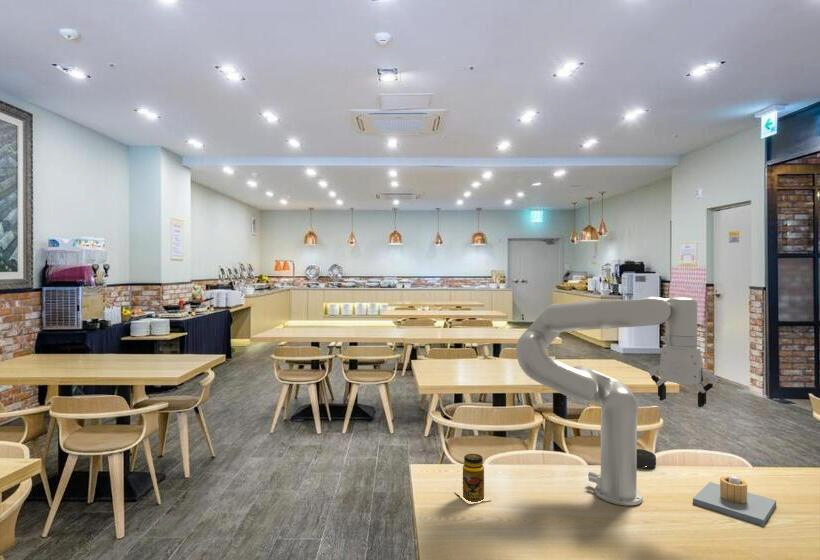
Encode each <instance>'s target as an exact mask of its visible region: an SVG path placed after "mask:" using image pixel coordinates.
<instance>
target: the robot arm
mask: <svg viewBox="0 0 820 560" xmlns="http://www.w3.org/2000/svg"><path fill="white" fill-rule="evenodd" d="M664 323H665V335H661V336H660V341H663V342H664V343H665V344H663V345H662V347H661V353H660V357H659V358H660V360H659V361H660V362H659V364H658V365H656V366H653V367H650V368H648V369H647V371H648V373H649V376H650V378H651V379H652V381H653V382H654V383H655V384H656V386H657V397H659V401H664V400H666V399H667V386H666V384H665V383H675V384H681V385H689V386H695V387H696V389H698V393H697V407H698V408H703V407H705V405H706V404H707V392H708V391H710V390H711V389H712V388H713V387H715V385H716V383H717V382H718V381H719V377H717V376H716V375H714V374H712V373H711V372H709V371H707V370H706V369H704V364H703V363H704V362H703V357H702V352H701V347H698V302H697V300H696V299H695V298H692V297H691V298H690V297H670V298H664V297H658V296H650V295H649V296H644V297H642V298H638V299H635V298H634V299H627V300H626V299H624V300H606V299H596V300H587V301H586V300H585V301H584V300H583V301H575V302H566V303H552V304H549V305H548V306H546V307H545V308H544V310H543V311H542V312H541V314H539V316H538V317H537V318H536V319H535V320H534V321H533V322H532V324H531V325H530V326H528V328H527V329H526V330H525V331H524V332H523V333H522V335H521V336H520V337H519V339H518V340H517V342H516V358H517V362H518V364H519V367H520V368H521V370H522V372H523V373H524V374H526V376H528V377H529V379H531V380H533V381H535V382H536V383H538V384H541V385H543V386H545V387H547V388H550V389H552V390H553V391H555V392H557V393H559V394H562V395H563V396H566V397H568V398H569V399H572V400H574V401H576V402H579V403H585V404H586V403H589V402H590V403H594V404H596V405H598V406H600V413H601V415H600V474H599V473H596V472H593V471H589V472H588V475H587V477H588V481H589V482H592V483H595V484H596V486H595V488H594V494H595V495H596V496H597V498H600V499H601V500H603V501H605V502H608V503H611V504H614V505H619V506H628V507H629V506H637V505H640V504H641V503H643V500H644V497H643V493H641V491H640V490H638V489H637V487H638V486H637V481H638V480H637V478H638V477H637V475H638V474H637V472H638V471H637V468H638V467H637V449H638V447H637V445H638V444H637V441H638V440H637V438H638V437H637V436H638V435H637V434H638V431H637V430H638V418H639V405H638V402H637V399H636V396H635V395H634V394H633V392H632V391H631V389H630V388H629V387H628V386H627V385H626V384H625V383H624V382H622V381H620V380H617V379H615V378H614V377H611V376H608V375H606V374H603V373H601V372H599V371H596V370H594V369H593V368H590V367H587V366H582V365H576V366H570V365H567V364H565V363H563V362H561V361H559V360H556V359H553V358H551V357H550V356H548V355H547V353H546V349H547V348H548V346H550V344H552V342H554V340H555V339H556V338H557V337H558V336H559V335H560V333H567V332H575V331H576V332H577V331H578V332H579V331H591V330H604V329H605V330H607V329H608V330H609V329H610V330H611V329H615V328H616V329H617V328H618V329H619V328H636V327H637V328H638V327H647V326H648V327H649V326H658V325H661V324H664ZM657 371H658V372H659V373H658V375H659V376H658V375H657ZM704 378H707V379H709V382H708V383H707V384H705V383H704Z"/></svg>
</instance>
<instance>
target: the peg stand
mask: <svg viewBox="0 0 820 560" xmlns="http://www.w3.org/2000/svg"><path fill="white" fill-rule="evenodd" d="M728 477H729V483H733V484H740V479H741V478H740V477H738V476H735V475H729V476H728ZM692 504H693V505H695V506H699V507H703V508H706V509H709V510H712V511H715V512H718V513H721V514H725V515H727V516H731V517H734V518H737V519H741V520H743V521H747V522H750V523H753V524H757V525H759V526H763V527H764V526H765V525H766V524H767V521H768V520H769V519H770V517H771V515H772V514H773V512H774V510H775V508H776V507H777V500H776V499H773V498H769V497H765V496H761V495H759V494H755V493H751V492H748V491H747V503H746V504H734V503H731V502H728V501H725V500H724V499H722V498H721V497H720V483H714V482H712V481H709V482H708V483H707V484H706V485H705V486H704V487H702V489H701V490H699V492H698V493H696V494H695V496H693V497H692Z"/></svg>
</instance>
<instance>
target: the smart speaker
mask: <svg viewBox="0 0 820 560" xmlns="http://www.w3.org/2000/svg"><path fill="white" fill-rule="evenodd" d="M656 465H657V456H656V455H655V454H654V453H653V452H652V451H650V450H647V449H642V448H641V449H639V448H637V468H639V467H645V466H647V467H645V468H644V469H653V468H655V467H656Z"/></svg>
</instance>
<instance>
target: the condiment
mask: <svg viewBox="0 0 820 560" xmlns="http://www.w3.org/2000/svg"><path fill="white" fill-rule="evenodd" d="M463 459H464V460H463V465H462V491H463V497H464V498H465V499H466V500H468V501H471V502H478V501H481V500H483V499H484V495H485V467H484V463H483V461H484V460H483V459H484V458H483V456H482V455H480V454H478V453H468V454H465V455H464V458H463Z"/></svg>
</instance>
